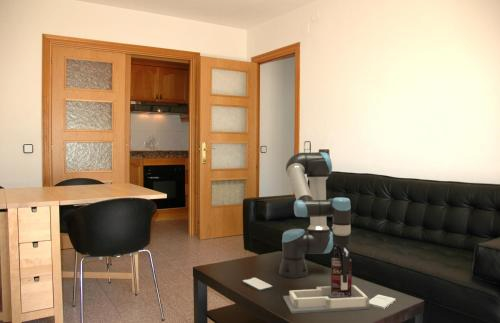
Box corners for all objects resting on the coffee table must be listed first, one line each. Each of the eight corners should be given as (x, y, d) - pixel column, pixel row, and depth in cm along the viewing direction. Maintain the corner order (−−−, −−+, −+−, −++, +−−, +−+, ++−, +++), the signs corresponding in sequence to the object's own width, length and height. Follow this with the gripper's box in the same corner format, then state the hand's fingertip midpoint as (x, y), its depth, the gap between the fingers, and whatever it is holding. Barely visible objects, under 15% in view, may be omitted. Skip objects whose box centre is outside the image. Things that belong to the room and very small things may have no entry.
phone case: (274, 289, 191) (255, 280, 205) (274, 286, 191) (255, 276, 204) (259, 293, 186) (240, 283, 200) (259, 290, 186) (240, 280, 199)
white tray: (283, 298, 178) (283, 288, 178) (354, 294, 182) (354, 284, 182) (291, 313, 162) (291, 302, 161) (369, 309, 165) (369, 298, 165)
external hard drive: (365, 305, 170) (377, 297, 180) (383, 310, 165) (395, 301, 174) (365, 302, 170) (377, 293, 180) (383, 307, 165) (395, 298, 174)
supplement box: (331, 297, 171) (331, 260, 171) (330, 293, 176) (330, 257, 175) (352, 298, 170) (352, 261, 169) (351, 294, 174) (351, 258, 174)
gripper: (326, 229, 181) (326, 280, 182) (340, 239, 162) (340, 295, 163) (342, 229, 182) (342, 279, 182) (358, 238, 163) (358, 294, 164)
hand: (341, 286), depth 173 cm, fingers closed on supplement box, 6 cm apart
